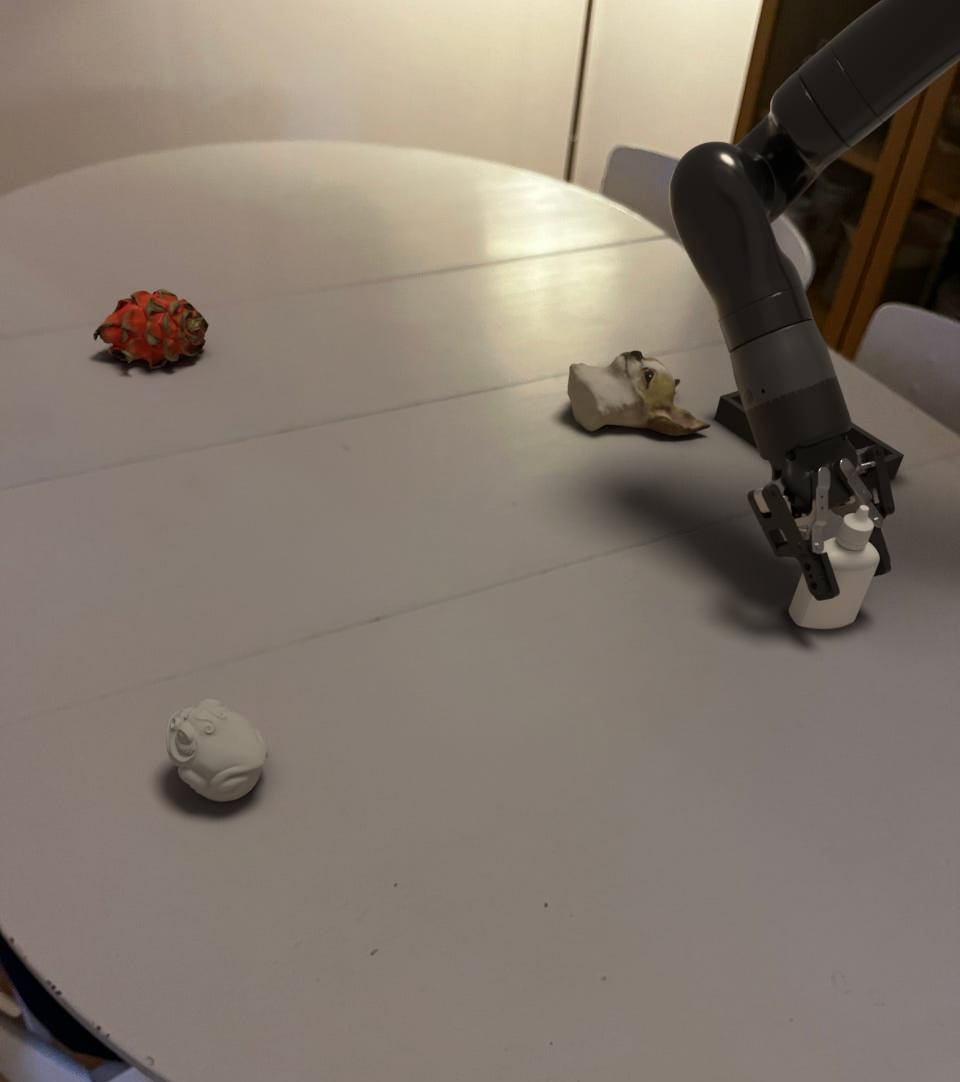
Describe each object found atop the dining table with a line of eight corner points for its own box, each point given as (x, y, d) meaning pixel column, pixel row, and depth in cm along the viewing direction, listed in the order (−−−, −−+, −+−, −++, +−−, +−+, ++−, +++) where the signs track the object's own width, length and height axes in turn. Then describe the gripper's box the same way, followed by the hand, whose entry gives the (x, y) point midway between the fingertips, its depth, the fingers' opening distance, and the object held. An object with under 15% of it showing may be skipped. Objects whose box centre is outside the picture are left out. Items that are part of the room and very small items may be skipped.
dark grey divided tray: (771, 405, 119) (779, 377, 116) (892, 484, 109) (904, 454, 106) (712, 425, 115) (720, 395, 112) (832, 509, 104) (844, 478, 102)
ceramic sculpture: (559, 325, 110) (691, 329, 113) (544, 398, 115) (671, 400, 119) (589, 377, 102) (729, 379, 106) (571, 453, 108) (705, 452, 112)
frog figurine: (205, 740, 76) (195, 671, 72) (290, 773, 75) (285, 705, 70) (155, 799, 72) (140, 731, 67) (244, 836, 70) (235, 768, 66)
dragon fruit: (222, 376, 117) (113, 394, 116) (210, 306, 118) (101, 323, 117) (208, 341, 109) (90, 360, 107) (194, 266, 110) (78, 284, 109)
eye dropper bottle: (851, 644, 89) (900, 531, 81) (784, 628, 90) (826, 514, 82) (853, 613, 92) (901, 501, 84) (789, 597, 93) (830, 484, 85)
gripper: (758, 397, 79) (829, 609, 80) (883, 356, 85) (947, 552, 87) (694, 425, 86) (761, 620, 87) (815, 385, 92) (876, 567, 93)
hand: (854, 585), depth 87 cm, fingers closed on eye dropper bottle, 5 cm apart
